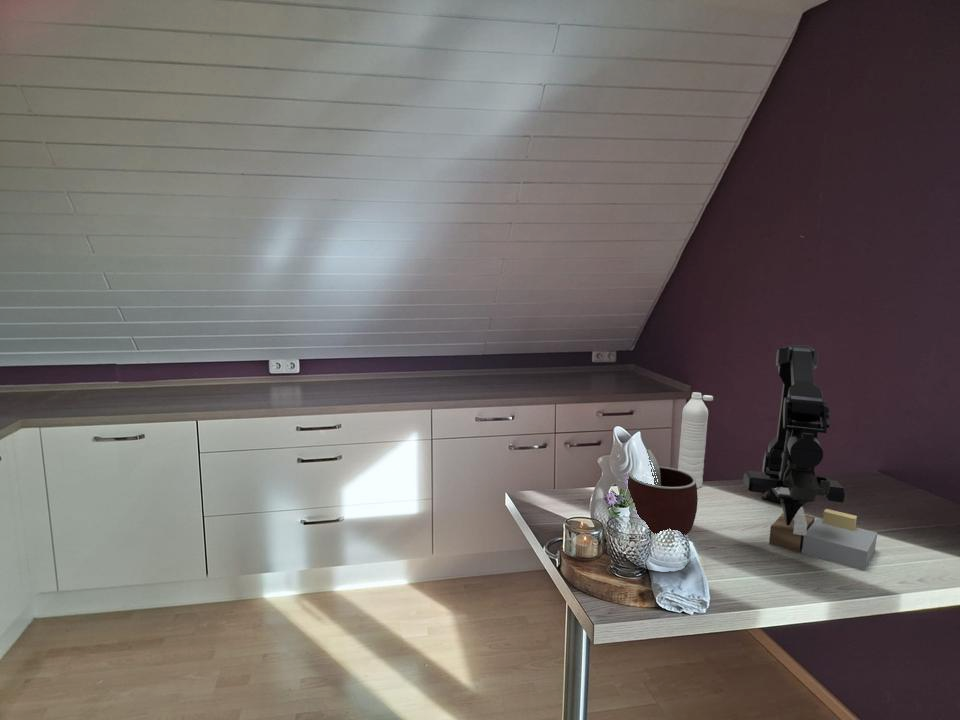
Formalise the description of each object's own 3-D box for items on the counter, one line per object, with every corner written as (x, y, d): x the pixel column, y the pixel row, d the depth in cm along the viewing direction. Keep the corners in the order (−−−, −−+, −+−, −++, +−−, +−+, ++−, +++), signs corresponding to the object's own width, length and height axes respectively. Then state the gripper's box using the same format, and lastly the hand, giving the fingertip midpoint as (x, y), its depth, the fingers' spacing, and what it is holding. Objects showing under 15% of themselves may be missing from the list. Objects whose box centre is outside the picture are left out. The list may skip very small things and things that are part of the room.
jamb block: (784, 526, 150) (785, 510, 150) (812, 534, 147) (814, 517, 146) (768, 544, 141) (770, 526, 140) (799, 552, 137) (801, 534, 137)
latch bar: (787, 514, 147) (788, 503, 146) (803, 516, 146) (804, 506, 145) (791, 533, 136) (792, 522, 136) (808, 536, 135) (809, 525, 135)
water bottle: (671, 481, 178) (678, 390, 174) (691, 479, 181) (698, 389, 177) (692, 492, 170) (700, 397, 166) (713, 490, 173) (721, 396, 169)
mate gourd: (703, 574, 127) (712, 474, 124) (633, 575, 126) (640, 474, 122) (673, 539, 142) (680, 449, 139) (610, 540, 141) (616, 449, 138)
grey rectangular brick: (815, 535, 146) (818, 506, 145) (874, 550, 139) (878, 520, 138) (801, 553, 137) (805, 523, 136) (864, 570, 130) (869, 539, 129)
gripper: (760, 460, 130) (749, 534, 132) (862, 472, 127) (849, 548, 129) (747, 443, 140) (737, 513, 143) (842, 454, 137) (830, 524, 140)
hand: (787, 524), depth 139 cm, fingers closed
